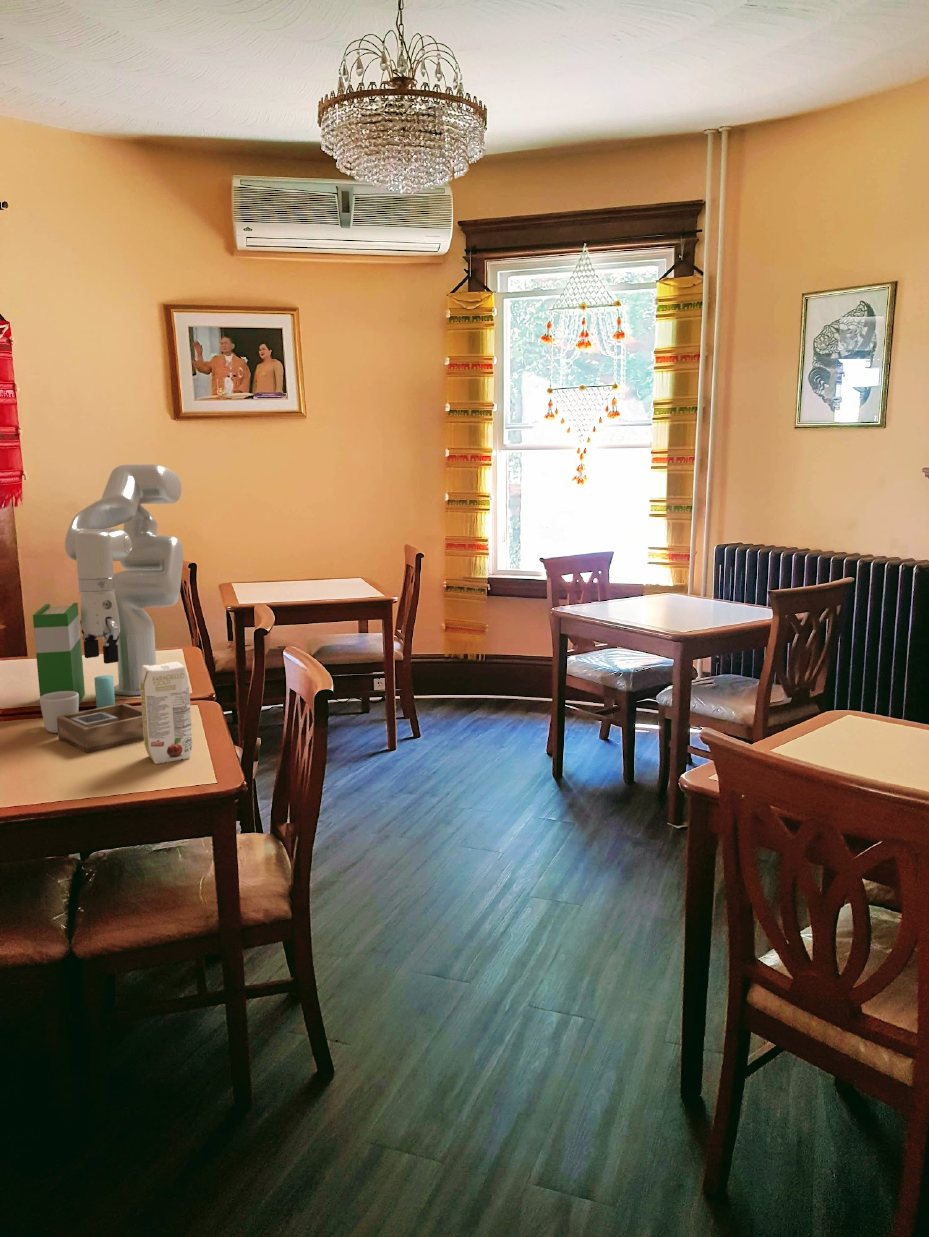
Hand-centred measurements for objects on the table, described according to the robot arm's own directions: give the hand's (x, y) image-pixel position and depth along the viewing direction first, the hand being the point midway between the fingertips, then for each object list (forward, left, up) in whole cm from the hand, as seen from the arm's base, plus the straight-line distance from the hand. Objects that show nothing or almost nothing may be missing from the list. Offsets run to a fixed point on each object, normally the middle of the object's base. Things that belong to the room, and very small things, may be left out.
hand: (101, 659), depth 199 cm
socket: (+9, +14, -14) cm, 22 cm away
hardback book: (+1, -21, -15) cm, 26 cm away
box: (+6, +14, -14) cm, 21 cm away
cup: (+10, -1, -15) cm, 18 cm away
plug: (0, 0, -14) cm, 14 cm away
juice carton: (+4, +36, -15) cm, 39 cm away
